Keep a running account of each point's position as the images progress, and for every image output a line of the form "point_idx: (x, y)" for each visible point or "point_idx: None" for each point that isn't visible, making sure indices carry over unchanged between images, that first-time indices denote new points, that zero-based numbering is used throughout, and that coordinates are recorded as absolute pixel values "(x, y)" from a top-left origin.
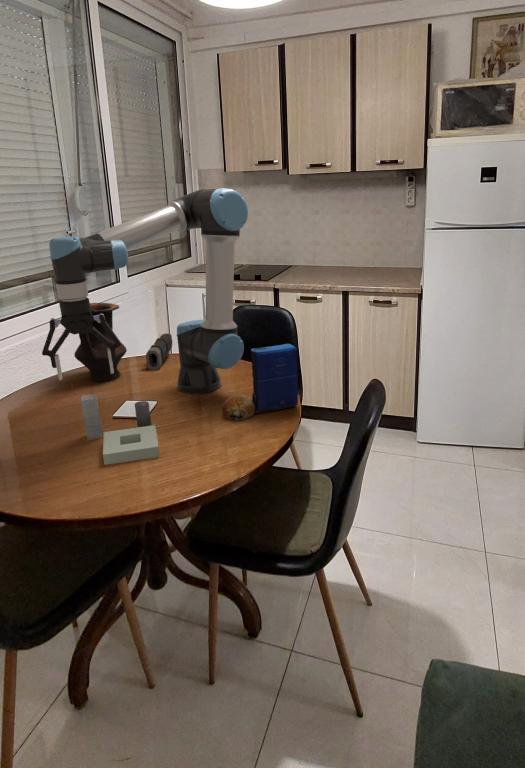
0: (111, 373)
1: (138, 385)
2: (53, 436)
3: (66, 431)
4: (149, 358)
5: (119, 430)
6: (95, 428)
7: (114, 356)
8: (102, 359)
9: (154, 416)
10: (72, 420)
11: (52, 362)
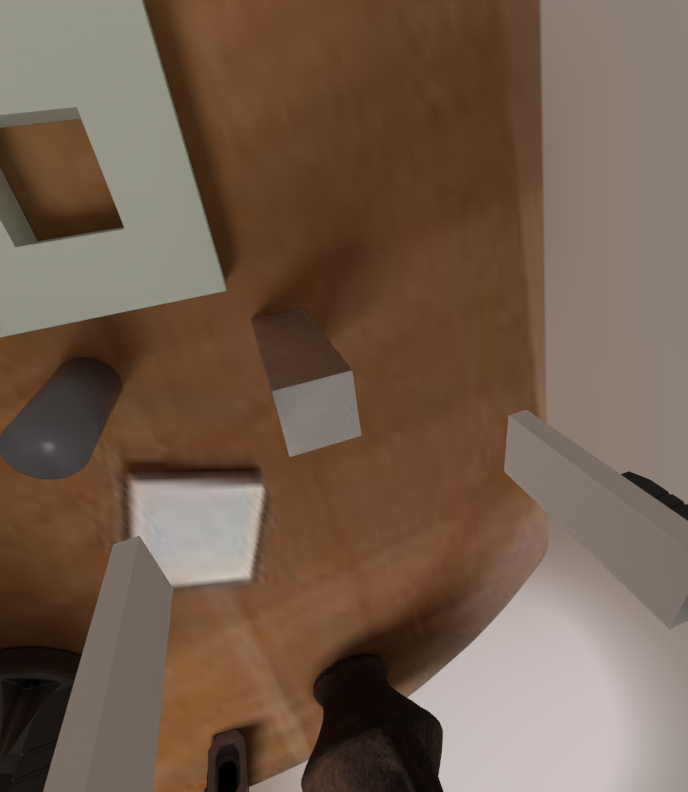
0: (133, 538)
1: (243, 659)
2: (423, 349)
3: (389, 382)
4: (239, 773)
5: (154, 299)
6: (275, 328)
7: (36, 756)
8: (359, 730)
9: (95, 487)
10: (385, 454)
11: (680, 508)
